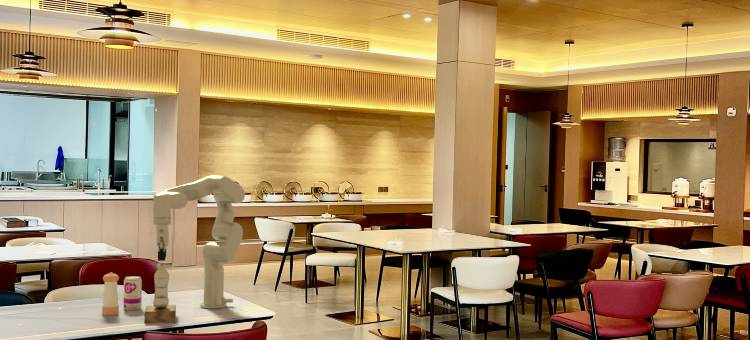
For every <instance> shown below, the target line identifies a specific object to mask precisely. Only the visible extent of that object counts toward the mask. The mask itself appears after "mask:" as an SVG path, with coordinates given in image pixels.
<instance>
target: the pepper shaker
mask: <svg viewBox="0 0 750 340" xmlns="http://www.w3.org/2000/svg"><path fill="white" fill-rule="evenodd" d="M119 279H120V277H119V275H118V274H116V273H114V272H112V271H111V272H109V273H107V274H104V275H103V277H102V280H103V282H104V292H103V297H102V307H101V314H102V315H103V316H113V315H114V316H115V315H118V314H119V313H120V311H119V310H120V306H119V294H118V281H119Z"/></svg>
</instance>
